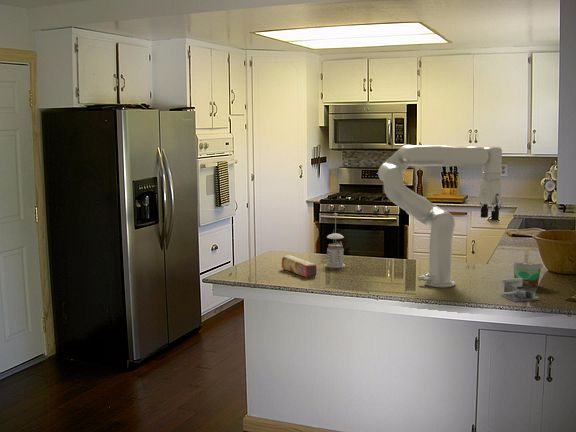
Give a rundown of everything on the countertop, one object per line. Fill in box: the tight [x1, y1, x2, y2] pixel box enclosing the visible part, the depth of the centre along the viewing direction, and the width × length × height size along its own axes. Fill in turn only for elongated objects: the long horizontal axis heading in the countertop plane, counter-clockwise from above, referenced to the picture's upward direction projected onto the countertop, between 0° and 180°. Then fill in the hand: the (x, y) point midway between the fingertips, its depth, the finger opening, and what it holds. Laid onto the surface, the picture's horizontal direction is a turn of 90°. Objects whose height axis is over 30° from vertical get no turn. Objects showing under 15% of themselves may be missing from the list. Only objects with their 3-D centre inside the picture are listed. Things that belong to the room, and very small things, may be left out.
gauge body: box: [501, 290, 540, 303], centre depth 278 cm, size 11×9×3 cm
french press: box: [324, 212, 346, 268], centre depth 334 cm, size 10×12×25 cm
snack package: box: [281, 254, 318, 279], centre depth 320 cm, size 21×7×7 cm, turn 31°
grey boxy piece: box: [501, 277, 533, 296], centre depth 280 cm, size 10×9×5 cm
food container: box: [511, 260, 544, 289], centre depth 296 cm, size 12×6×10 cm, turn 69°
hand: (489, 218), depth 298 cm, fingers open, 7 cm apart
